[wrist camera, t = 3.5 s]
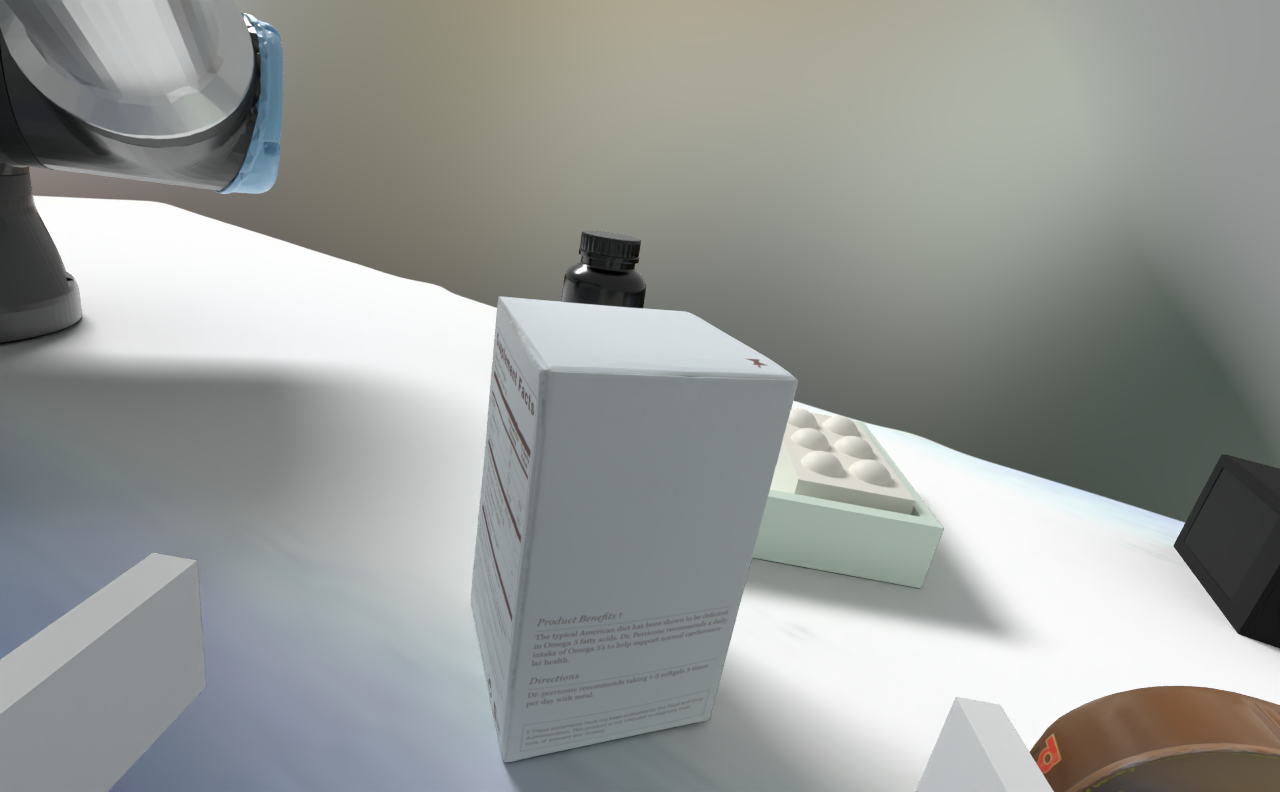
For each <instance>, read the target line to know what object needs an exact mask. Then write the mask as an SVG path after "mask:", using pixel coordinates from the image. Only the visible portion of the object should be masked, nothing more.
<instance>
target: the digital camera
mask: <svg viewBox="0 0 1280 792" xmlns="http://www.w3.org/2000/svg"><path fill="white" fill-rule="evenodd" d="M1174 547H1175V549H1176V550H1177V551H1178V553H1179V554H1180V556H1181V557H1182V558H1183V560H1184V561H1185V562H1186V564H1187V565H1188V566H1189V568H1190V569H1191V570H1192V572H1193V573H1194V575H1195V576H1196V577H1197V579H1198V580H1199V581H1200V583H1201V584H1202V585H1203V587H1204V588H1205V589H1206V591H1207V592H1208V594H1209V595H1210V596H1211V598H1212V599H1213V600H1214V602H1215V603H1216V604H1217V606H1218V607H1219V608H1220V610H1221V611H1222V613H1223V614H1224V615H1225V617H1226V618H1227V619H1228V621H1229V622H1230V623H1231V625H1232V626H1233V627H1234V629H1235V630H1236V632H1237V633H1238V634H1240V635H1243V636H1246V637H1249V638H1252V639H1255V640H1258V641H1261V642H1264V643H1267V644H1270V645H1273V646H1276V647H1279V648H1280V469H1278V468H1274V467H1270V466H1267V465H1263V464H1259V463H1255V462H1251V461H1247V460H1244V459H1240V458H1236V457H1233V456H1229V455H1221V457H1220V459H1219V461H1218V463H1217V464H1216V466H1215V468H1214V470H1213V472H1212V474H1211V476H1210V477H1209V479H1208V481H1207V484H1206V485H1205V487H1204V489H1203V491H1202V493H1201V495H1200V496H1199V498H1198V500H1197V502H1196V504H1195V506H1194V508H1193V510H1192V512H1191V513H1190V515H1189V517H1188V519H1187V521H1186V523H1185V525H1184V527H1183V529H1182V531H1181V532H1180V534H1179V536H1178V538H1177V540H1176V542H1175V544H1174ZM1265 602H1266V603H1265ZM1260 610H1261V611H1260ZM1252 623H1253V624H1252ZM1249 628H1250V629H1249ZM1247 631H1248V632H1247Z"/></svg>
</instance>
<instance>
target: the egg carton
mask: <svg viewBox="0 0 1280 792" xmlns="http://www.w3.org/2000/svg"><path fill="white" fill-rule="evenodd" d="M770 489H771V490H776V491H782V492H787V493H793V494H798V495H803V496H809V497H814V498H820V499H825V500H831V501H836V502H842V503H847V504H853V505H858V506H864V507H869V508H875V509H880V510H886V511H891V512H897V513H902V514H907V515H911V513H912V510H913V507H914V504H915V502H916V500H915V499H914V498H913V496H912V495H911V493H910V492H909V491H908V489H907V488H906V487H905V485H904V484H903V483H902V481H901V480H900V479H899V477H898V476H897V474H896V473H895V472H894V470H893V469H892V468H891V466H890V465H889V464H888V462H887V461H886V460H885V458H884V457H883V455H882V454H881V453H880V451H879V450H878V449H877V447H876V446H875V445H874V443H873V442H872V441H871V439H870V438H869V436H868V435H867V434H866V432H865V431H864V430H863V428H862V427H861V426H860V424H859V423H858V422H857V421H852V420H850V419H848V418H846V417H843V416H834V417H831V416H825V415H820V414H814V413H810V412H809V411H807V410H804V409H793V410H792V409H791V411H790V415H789V419H788V422H787V426H786V430H785V433H784V437H783V441H782V445H781V449H780V453H779V457H778V461H777V465H776V468H775V471H774V475H773V479H772V483H771V487H770Z"/></svg>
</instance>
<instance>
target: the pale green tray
mask: <svg viewBox="0 0 1280 792" xmlns="http://www.w3.org/2000/svg"><path fill="white" fill-rule="evenodd" d="M858 423H859V424H860V426H861V427H862V428H863V430H864V431H865V432H866V434H867V435H868V436H869V438H870V439H871V441H872V442H873V443H874V445H875V446H876V447H877V449H878V450H879V451H880V453H881V454H882V455H883V457H884V458H885V460H886V461H887V462H888V464H889V465H890V466H891V468H892V469H893V470H894V472H895V473H896V474H897V476H898V477H899V479H900V480H901V481H902V483H903V484H904V485H905V487H906V488H907V489H908V491H909V492H910V493H911V495H912V496H913V498H914V499H915V500H916V502H915V504H914V507H913V510H912V513H911V515H907V514H902V513H897V512H891V511H886V510H880V509H875V508H869V507H864V506H858V505H853V504H847V503H842V502H836V501H831V500H825V499H820V498H814V497H809V496H803V495H798V494H793V493H787V492H782V491H776V490H771V489H770V491H769V495H768V499H767V502H766V506H765V510H764V514H763V517H762V521H761V525H760V529H759V533H758V537H757V541H756V545H755V549H754V552H753V556H752V558H757V559H763V560H768V561H774V562H779V563H785V564H790V565H796V566H801V567H806V568H812V569H817V570H823V571H828V572H834V573H839V574H845V575H850V576H856V577H861V578H867V579H872V580H878V581H883V582H889V583H894V584H900V585H905V586H910V587H916V588H921V587H922V584H923V582H924V579H925V577H926V574H927V571H928V569H929V566H930V564H931V561H932V558H933V556H934V553H935V551H936V548H937V545H938V543H939V540H940V537H941V535H942V532H943V530H944V528H943V527H942V525H941V524H940V523H939V521H938V520H937V519H936V517H935V516H934V515H933V513H932V512H931V511H930V509H929V508H928V507H927V505H926V504H925V503H924V501H923V500H922V499H921V498H920V496H919V495H918V494H917V492H916V491H915V490H914V488H913V487H912V486H911V484H910V483H909V482H908V480H907V479H906V478H905V476H904V475H903V474H902V472H901V471H900V470H899V469H898V467H897V466H896V465H895V463H894V462H893V461H892V459H891V458H890V457H889V455H888V454H887V453H886V451H885V450H884V449H883V447H882V446H881V445H880V443H879V442H878V441H877V440H876V438H875V437H874V436H873V434H872V433H871V432H870V430H869V429H868V428H867V426H866V425H865V424H864V423H862V422H858Z"/></svg>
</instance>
